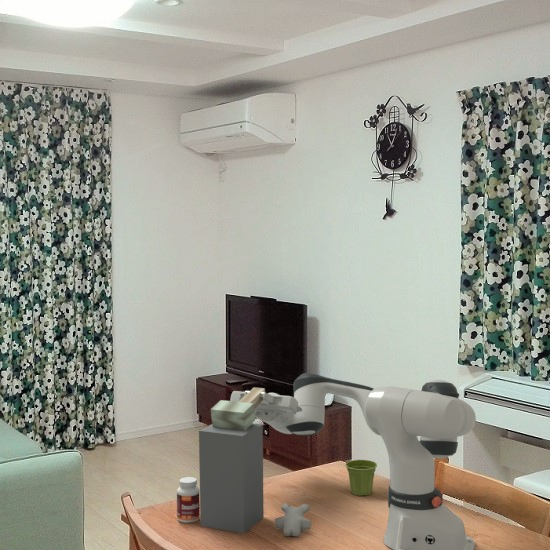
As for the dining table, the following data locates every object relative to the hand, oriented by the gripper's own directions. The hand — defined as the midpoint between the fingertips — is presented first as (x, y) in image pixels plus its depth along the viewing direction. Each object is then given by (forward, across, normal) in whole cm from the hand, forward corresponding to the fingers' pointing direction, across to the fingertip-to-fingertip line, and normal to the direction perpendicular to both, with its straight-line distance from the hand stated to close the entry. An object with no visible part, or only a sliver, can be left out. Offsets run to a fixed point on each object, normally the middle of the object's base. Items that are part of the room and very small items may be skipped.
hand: (254, 394), depth 227 cm
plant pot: (-33, -25, -18) cm, 45 cm away
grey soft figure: (-6, -17, -34) cm, 38 cm away
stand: (-3, 0, -35) cm, 35 cm away
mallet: (+3, 0, -6) cm, 7 cm away
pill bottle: (0, +12, -37) cm, 39 cm away
